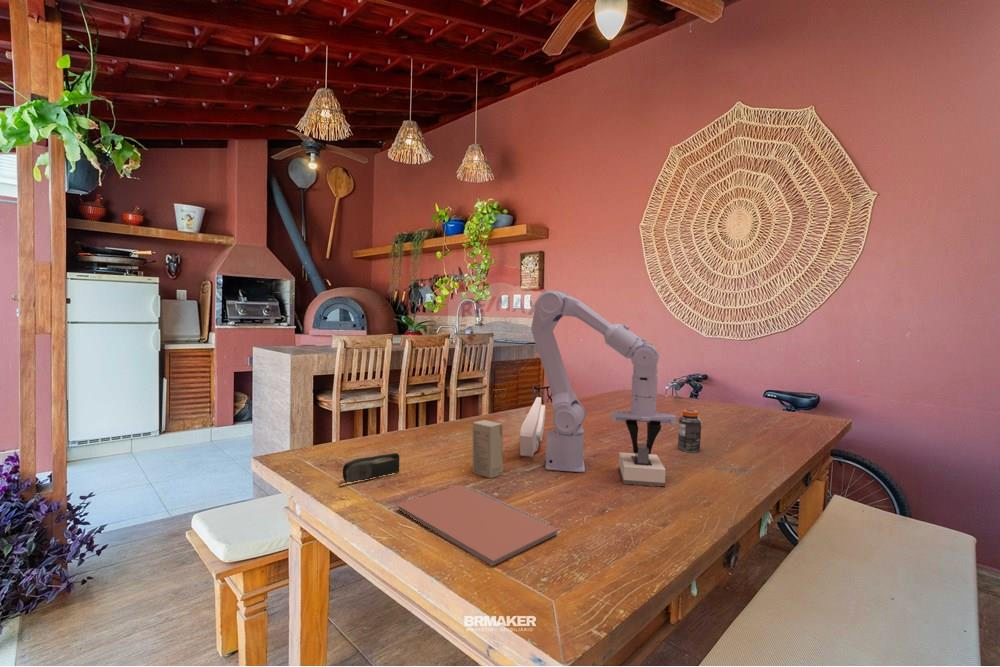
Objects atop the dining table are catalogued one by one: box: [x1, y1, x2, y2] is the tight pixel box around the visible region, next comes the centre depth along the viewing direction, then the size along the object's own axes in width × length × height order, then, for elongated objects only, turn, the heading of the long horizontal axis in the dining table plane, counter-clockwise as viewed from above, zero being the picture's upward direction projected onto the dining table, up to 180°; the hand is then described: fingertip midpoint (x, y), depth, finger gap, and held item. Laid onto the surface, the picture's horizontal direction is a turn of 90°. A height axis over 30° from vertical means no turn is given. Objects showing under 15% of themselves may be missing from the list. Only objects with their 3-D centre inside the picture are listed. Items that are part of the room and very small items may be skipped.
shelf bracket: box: [519, 396, 546, 458], centre depth 138 cm, size 6×25×13 cm, turn 168°
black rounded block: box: [340, 452, 400, 484], centre depth 110 cm, size 5×3×15 cm
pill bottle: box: [677, 408, 702, 453], centre depth 138 cm, size 6×6×11 cm
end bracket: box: [635, 442, 649, 465], centre depth 115 cm, size 2×5×6 cm, turn 172°
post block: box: [618, 452, 667, 487], centre depth 115 cm, size 9×11×4 cm
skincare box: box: [472, 419, 504, 479], centre depth 115 cm, size 6×4×12 cm
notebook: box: [396, 484, 560, 567], centre depth 90 cm, size 27×17×2 cm, turn 44°
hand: (641, 452), depth 115 cm, fingers closed on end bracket, 2 cm apart
